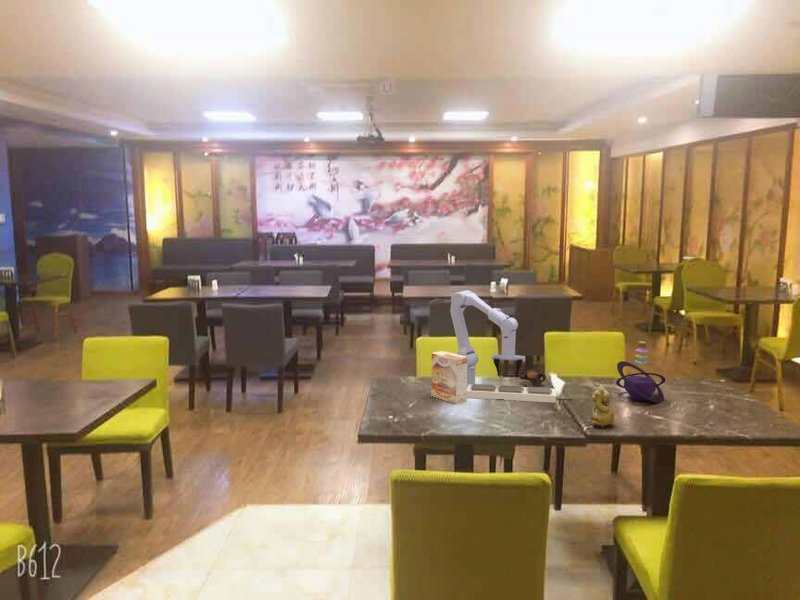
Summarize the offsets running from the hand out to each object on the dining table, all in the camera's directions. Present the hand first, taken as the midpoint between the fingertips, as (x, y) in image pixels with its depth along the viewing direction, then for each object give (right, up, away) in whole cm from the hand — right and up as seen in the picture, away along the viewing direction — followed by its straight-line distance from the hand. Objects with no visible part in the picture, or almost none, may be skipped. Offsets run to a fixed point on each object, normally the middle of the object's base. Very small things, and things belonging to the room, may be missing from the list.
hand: (507, 376), depth 280 cm
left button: (-11, -6, -1) cm, 13 cm away
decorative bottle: (+55, -9, -7) cm, 56 cm away
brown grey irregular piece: (+14, -6, +15) cm, 22 cm away
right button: (+13, -7, -5) cm, 15 cm away
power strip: (+4, -9, -4) cm, 10 cm away
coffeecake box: (-26, -9, -5) cm, 28 cm away
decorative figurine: (+29, -14, -39) cm, 50 cm away
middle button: (+1, -7, -3) cm, 8 cm away
